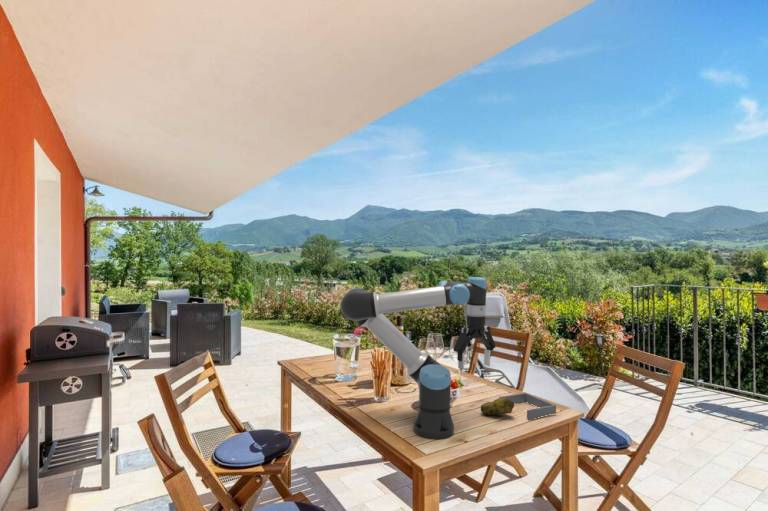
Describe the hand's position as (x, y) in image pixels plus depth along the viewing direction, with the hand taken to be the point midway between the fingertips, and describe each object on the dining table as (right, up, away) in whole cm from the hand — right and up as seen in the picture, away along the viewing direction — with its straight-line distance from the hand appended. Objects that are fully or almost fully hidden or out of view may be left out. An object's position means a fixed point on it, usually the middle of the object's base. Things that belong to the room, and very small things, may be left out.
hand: (474, 367), depth 174 cm
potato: (+10, -21, +3) cm, 24 cm away
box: (+25, -21, +10) cm, 34 cm away
